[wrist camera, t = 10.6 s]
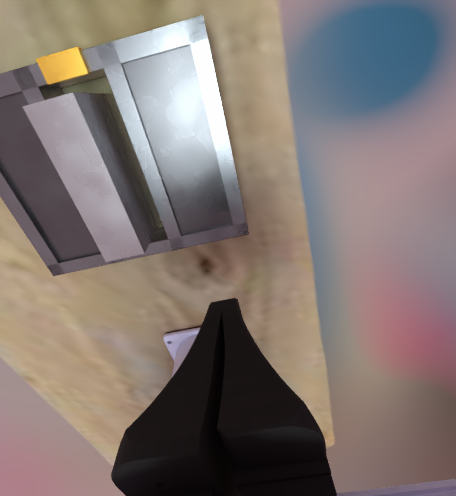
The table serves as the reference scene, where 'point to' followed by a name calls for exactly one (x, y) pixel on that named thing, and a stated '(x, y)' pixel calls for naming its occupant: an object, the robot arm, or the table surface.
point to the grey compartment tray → (142, 137)
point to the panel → (98, 169)
